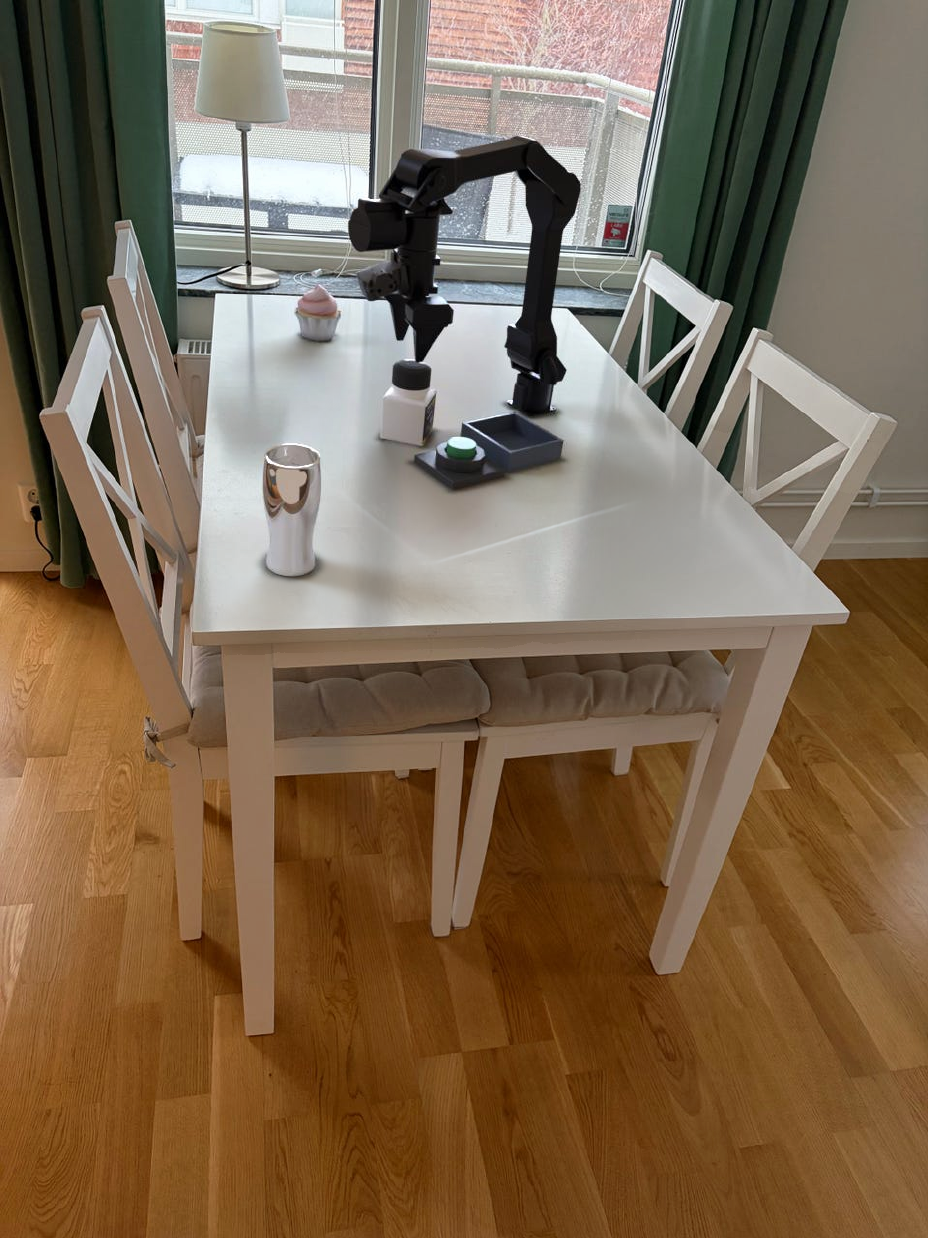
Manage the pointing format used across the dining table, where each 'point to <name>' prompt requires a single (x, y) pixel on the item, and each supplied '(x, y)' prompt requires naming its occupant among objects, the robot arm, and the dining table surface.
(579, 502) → the dining table surface
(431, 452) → the control panel
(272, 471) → the beer glass
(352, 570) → the dining table surface
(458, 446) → the button
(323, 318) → the cupcake
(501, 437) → the blue-grey tray
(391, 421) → the medicine bottle
